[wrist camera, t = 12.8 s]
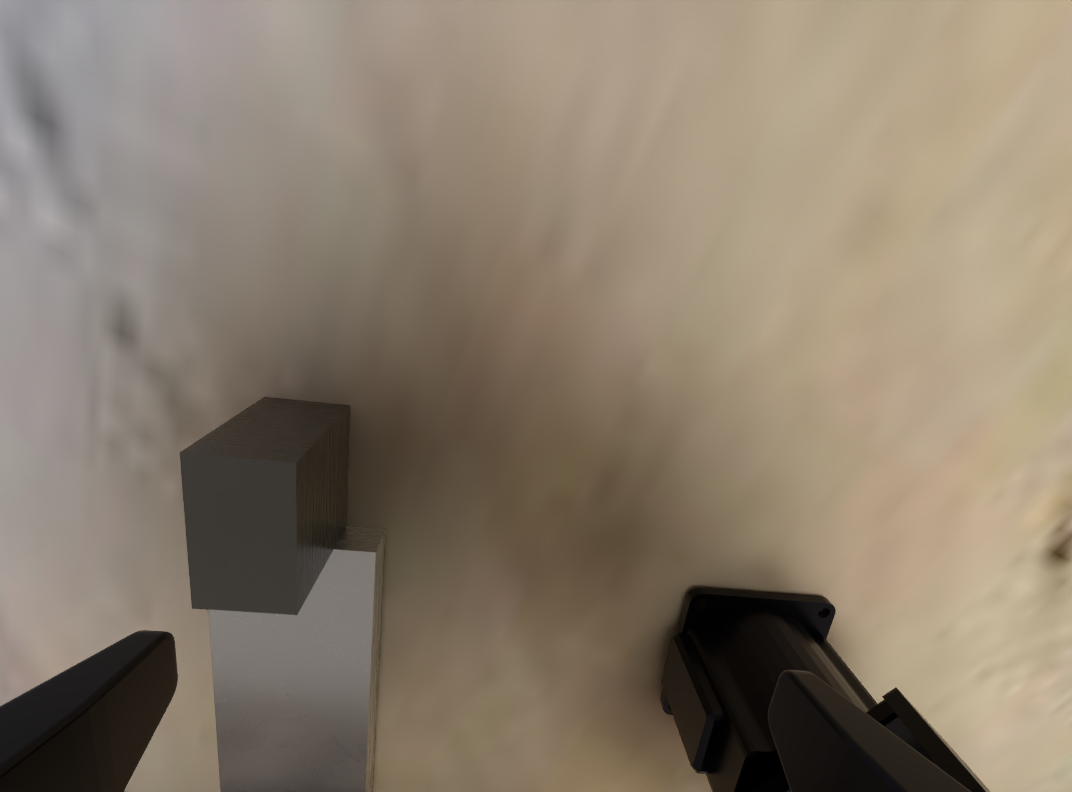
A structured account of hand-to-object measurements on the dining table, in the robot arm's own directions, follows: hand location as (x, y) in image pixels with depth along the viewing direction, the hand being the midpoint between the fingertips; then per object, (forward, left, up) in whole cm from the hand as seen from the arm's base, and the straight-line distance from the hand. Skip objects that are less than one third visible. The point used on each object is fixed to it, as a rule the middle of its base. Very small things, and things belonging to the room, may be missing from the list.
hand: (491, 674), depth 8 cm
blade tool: (+7, +12, -12) cm, 18 cm away
